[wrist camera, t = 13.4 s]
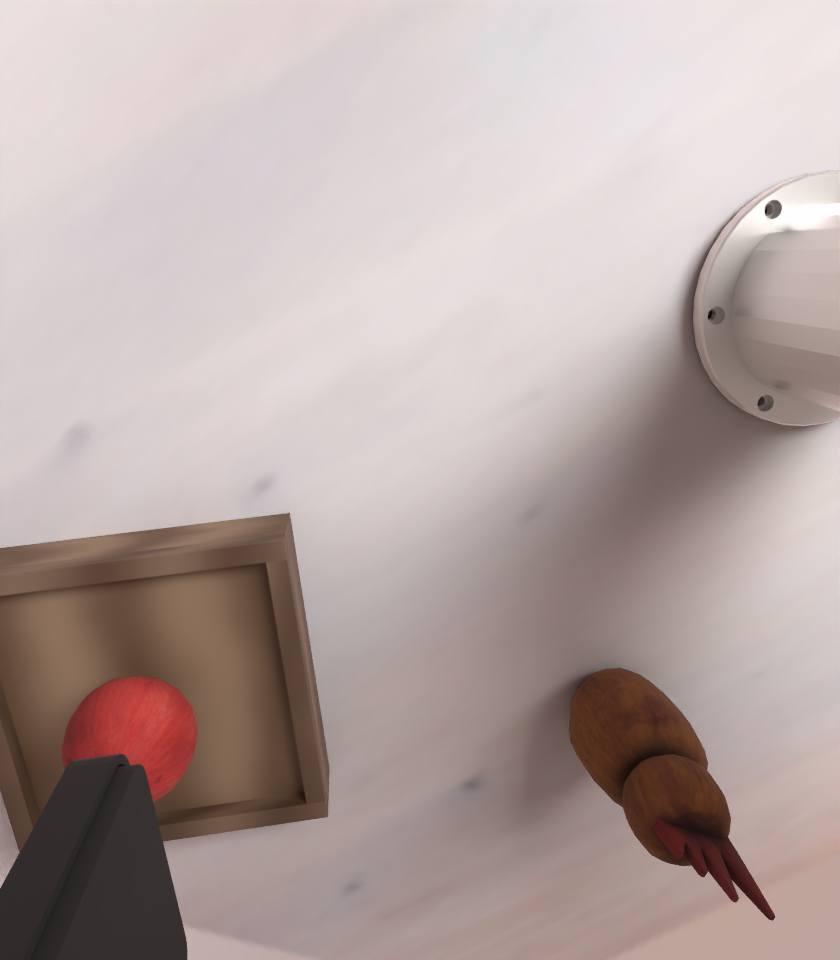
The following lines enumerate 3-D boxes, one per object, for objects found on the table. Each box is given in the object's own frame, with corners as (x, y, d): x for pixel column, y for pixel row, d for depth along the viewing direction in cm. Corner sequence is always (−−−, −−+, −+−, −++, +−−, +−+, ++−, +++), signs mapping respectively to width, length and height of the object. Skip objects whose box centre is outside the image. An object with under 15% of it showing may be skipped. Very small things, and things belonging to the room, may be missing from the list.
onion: (170, 763, 40) (129, 883, 32) (70, 711, 38) (2, 824, 31) (230, 681, 39) (202, 785, 31) (130, 625, 37) (75, 719, 30)
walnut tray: (289, 513, 39) (283, 540, 36) (329, 768, 44) (327, 816, 40) (-24, 551, 38) (-64, 583, 35) (51, 808, 43) (22, 862, 39)
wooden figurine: (681, 700, 45) (837, 905, 31) (610, 762, 46) (730, 990, 32) (609, 632, 43) (740, 816, 29) (537, 697, 44) (629, 908, 30)
